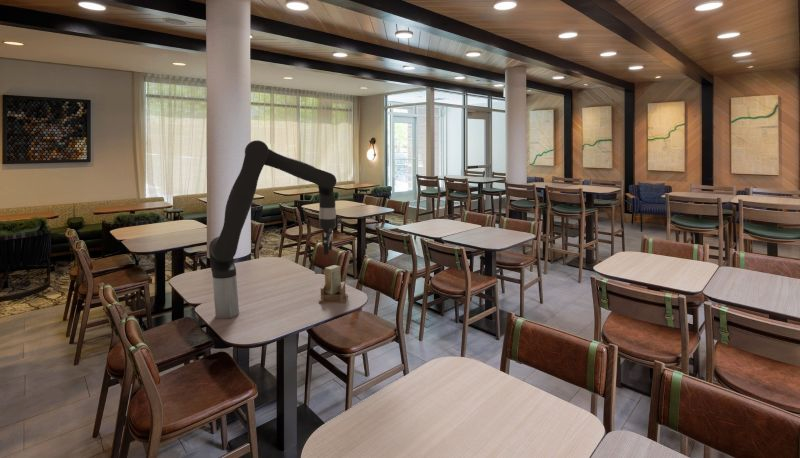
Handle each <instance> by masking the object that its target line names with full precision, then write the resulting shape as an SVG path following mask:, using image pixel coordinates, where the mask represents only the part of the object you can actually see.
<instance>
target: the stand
mask: <svg viewBox="0 0 800 458" xmlns="http://www.w3.org/2000/svg"><path fill="white" fill-rule="evenodd" d="M348 296H349V295H348V293H346V281H342V282H341V287H340V292H337V293H335V294H332V295H331V294H328V293H326V290H325V281H323V284H322V286H321V287H320V298H319V300H318V304H346V301H347V298H348Z"/></svg>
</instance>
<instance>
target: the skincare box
mask: <svg viewBox="0 0 800 458" xmlns="http://www.w3.org/2000/svg"><path fill="white" fill-rule="evenodd" d="M341 277H342V276H341V266H339V265H336V264H333V265H329V266H326V267H324V282H325V290H326V293H328V294H331V295H332V294H335V293H337V292H340V287H341V284H342V282H341V281H342V280H341Z"/></svg>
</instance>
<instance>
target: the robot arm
mask: <svg viewBox="0 0 800 458" xmlns="http://www.w3.org/2000/svg"><path fill="white" fill-rule="evenodd" d="M242 162H243V163H242V165H241V168H240V170H239V171H240V172H239V173H238V176H237V177H236V179H235V181H234V183H233V185H232V187H231V189H230V192H229V195H228V197H227V201H226V204H225V210H224V220H223V225H222V228H221V231H220V234H219V236H216V237H214V238H213V239H212V240H211V241H210V242H209V247H208V253H209V262H210V271H211V274H212V286H213V298H214V299H213V301H214V313H215V319H222V320H223V319H232V318H234V317H237V316H238V315H239V313H240V308H239V307H240V306H239V305H240V304H239V295H238V292H239V291H238V278H237V277H238V276H237V268H236V265H235V264H236V263H235V260H234V257H235V256H236V254H237V251H238V246H239V241H240V237H241V234H242V229H243V228H244V225H245V223H246V220H247V218H248V215H249V212H250V210H251V207H252V204H253V201H254V197H255V194H256V192H257V191H256V190H257V186H258V181H259V178H260V175H261V172H262V170H263V168H264V166H267V167H271V168H274V169H277V170H280V171H281V172H284V173H286V174H289V175H291V176H293V177H296V178H298V179H301V180H302V181H306V182H311V183H312V184H315V185H316V186H317V189H318V195H319V200H318V201H319V202H318V203H319V209H318V210H319V211H318V227H319V228H320V229H323V231H322V235H321V236H322V239H321V241H322V242H321V243H322V244H321V246H322V247H323V255H325V256H326V255H327V256H328V255H329V254H330V251H332V250H333V240H334V229H335V228H337V210H336V196H335V194H334V187H336V185H337V178H336V176H335V174H333V173H331V172H329V171H326V170H322V169H320V168H317V167H315V166H313V165H312V164H308V163H307V162H303V161H301V160H298V159H295V158H292V157H288V156H286V155H283V154H280V153H277V152H276V151H273V150H272V149H270V148H269V146H268V145H267V144H266V143H265V142H264V141H262V140H257V139H256V140H251V141H250V142H249V143H248V144H247V145H246V146H245V148H244V158H243V161H242Z"/></svg>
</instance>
